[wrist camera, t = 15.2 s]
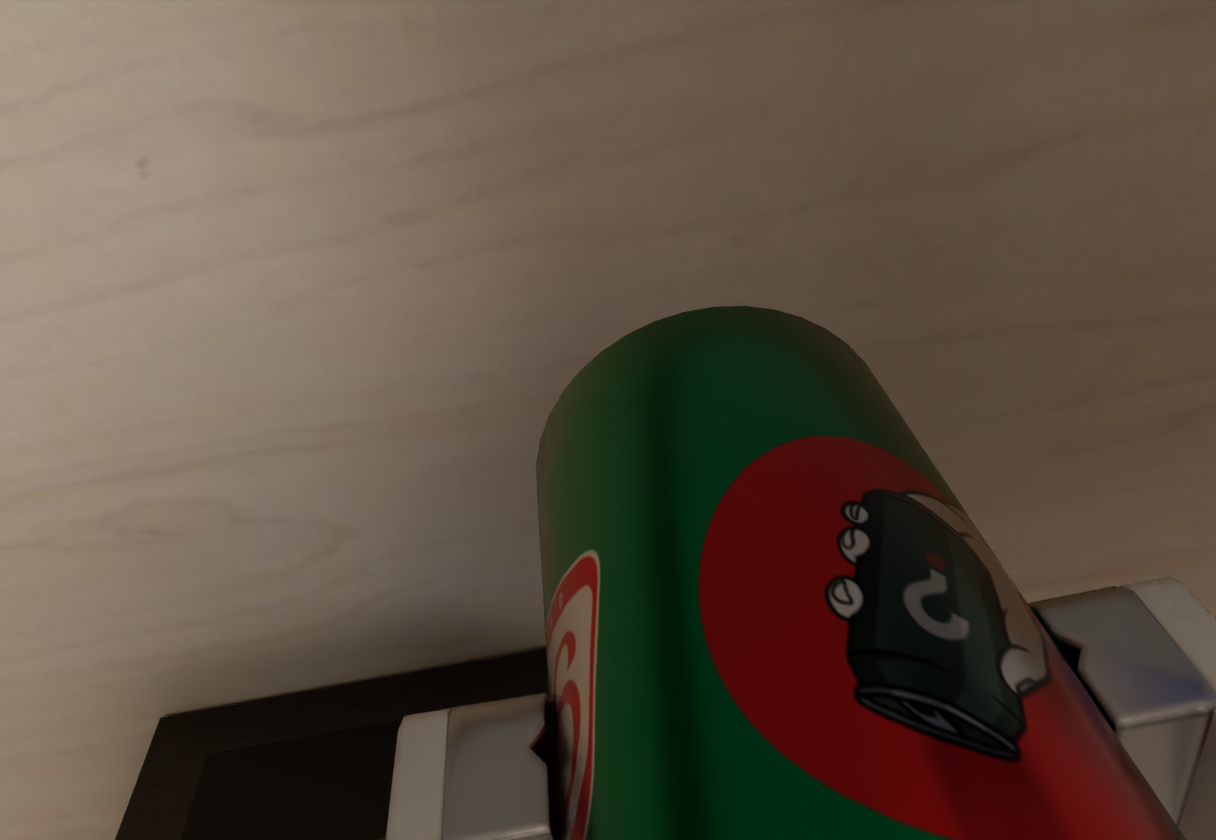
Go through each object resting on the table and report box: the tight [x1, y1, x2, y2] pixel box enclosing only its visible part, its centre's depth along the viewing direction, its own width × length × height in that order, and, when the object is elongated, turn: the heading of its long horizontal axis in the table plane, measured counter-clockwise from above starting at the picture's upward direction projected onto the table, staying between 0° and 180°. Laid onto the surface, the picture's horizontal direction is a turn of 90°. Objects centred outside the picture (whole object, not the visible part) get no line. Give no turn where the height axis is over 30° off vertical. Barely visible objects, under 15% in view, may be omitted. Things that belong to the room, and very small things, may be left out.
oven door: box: [115, 649, 549, 840], centre depth 29 cm, size 7×18×14 cm, turn 99°
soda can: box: [536, 306, 1186, 840], centre depth 9 cm, size 5×5×12 cm
